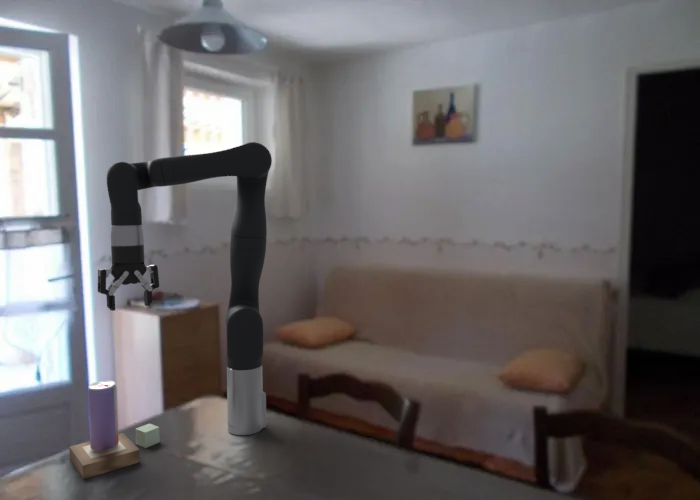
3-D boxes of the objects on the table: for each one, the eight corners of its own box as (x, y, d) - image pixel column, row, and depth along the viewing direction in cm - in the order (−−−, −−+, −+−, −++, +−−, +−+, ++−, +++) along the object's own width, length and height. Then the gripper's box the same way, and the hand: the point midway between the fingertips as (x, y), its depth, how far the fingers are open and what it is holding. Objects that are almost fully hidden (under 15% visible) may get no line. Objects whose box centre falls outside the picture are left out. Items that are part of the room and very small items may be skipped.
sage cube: (149, 438, 135) (149, 423, 135) (159, 442, 133) (159, 427, 133) (135, 444, 132) (135, 428, 132) (145, 448, 130) (145, 432, 130)
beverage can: (107, 454, 120) (104, 390, 118) (84, 451, 121) (81, 387, 119) (124, 443, 125) (121, 381, 124) (102, 440, 127) (99, 379, 125)
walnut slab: (123, 444, 132) (122, 432, 131) (139, 462, 123) (139, 449, 122) (69, 459, 124) (69, 446, 124) (83, 479, 115) (82, 465, 115)
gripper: (150, 241, 139) (152, 302, 141) (92, 244, 130) (95, 309, 131) (161, 242, 134) (163, 306, 135) (101, 245, 124) (104, 314, 126)
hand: (130, 307), depth 133 cm, fingers open, 8 cm apart
